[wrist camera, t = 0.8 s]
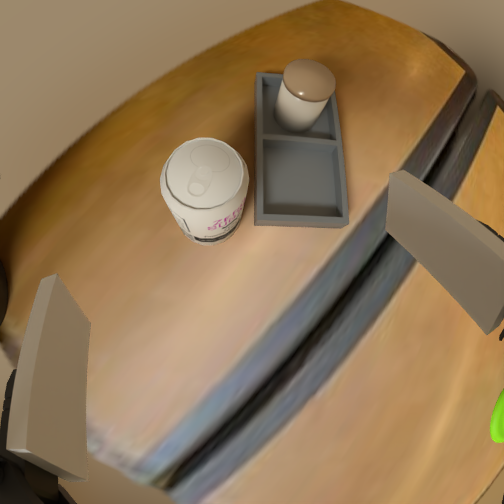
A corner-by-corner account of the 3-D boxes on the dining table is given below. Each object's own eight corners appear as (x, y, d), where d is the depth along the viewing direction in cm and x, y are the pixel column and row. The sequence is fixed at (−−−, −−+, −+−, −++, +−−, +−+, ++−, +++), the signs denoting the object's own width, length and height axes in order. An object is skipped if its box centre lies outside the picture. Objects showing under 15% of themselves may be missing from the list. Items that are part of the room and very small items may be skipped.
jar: (273, 131, 43) (285, 94, 34) (272, 95, 44) (282, 56, 35) (318, 135, 44) (339, 101, 35) (314, 99, 45) (332, 63, 36)
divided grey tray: (254, 225, 42) (256, 220, 39) (254, 83, 45) (256, 72, 42) (341, 228, 43) (349, 223, 40) (327, 91, 46) (333, 81, 43)
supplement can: (192, 178, 42) (179, 122, 27) (249, 198, 42) (263, 148, 28) (169, 233, 41) (142, 199, 26) (228, 255, 41) (231, 231, 26)
